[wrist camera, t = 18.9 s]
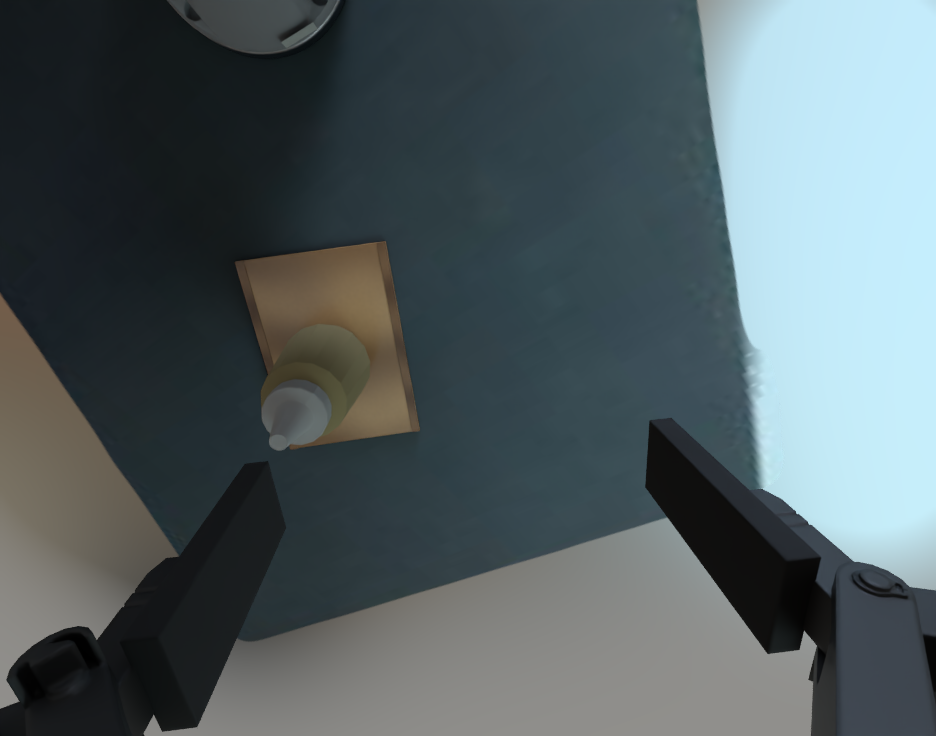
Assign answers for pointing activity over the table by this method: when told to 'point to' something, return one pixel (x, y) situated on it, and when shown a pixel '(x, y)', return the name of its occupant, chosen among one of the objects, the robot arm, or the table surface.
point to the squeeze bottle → (313, 385)
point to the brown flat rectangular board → (345, 305)
